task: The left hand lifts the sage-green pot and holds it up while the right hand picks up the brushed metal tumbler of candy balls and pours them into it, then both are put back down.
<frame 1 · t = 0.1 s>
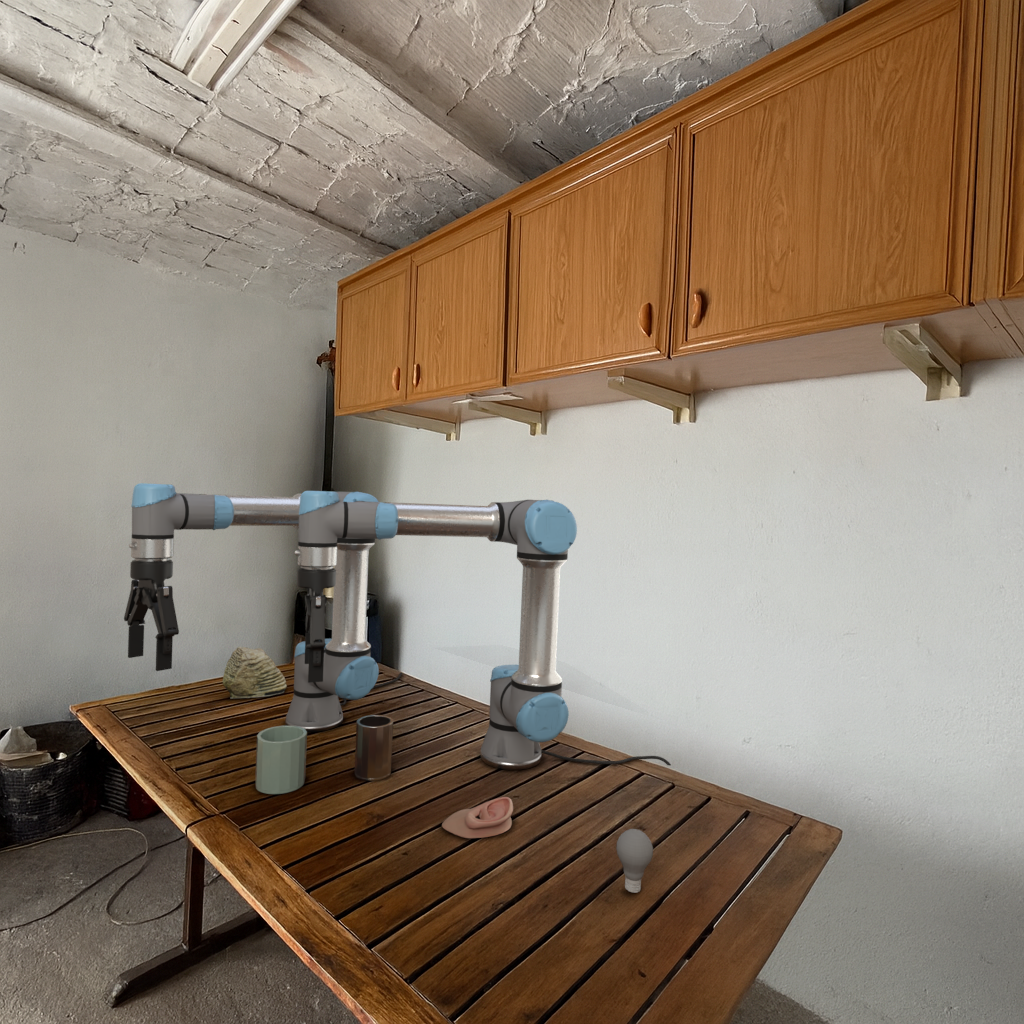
left hand: (149, 663, 129), 28 cm above the table, tool pointing down, fingers open, 13 cm apart
right hand: (313, 672, 128), 28 cm above the table, tool pointing down, fingers open, 13 cm apart
anatomical model: (477, 825, 125), on the table
light bulb: (632, 891, 106), on the table
pot: (280, 783, 139), on the table, 0 candy balls inside
fossil: (254, 694, 198), on the table
tumbler: (372, 773, 146), on the table, 144 candy balls inside
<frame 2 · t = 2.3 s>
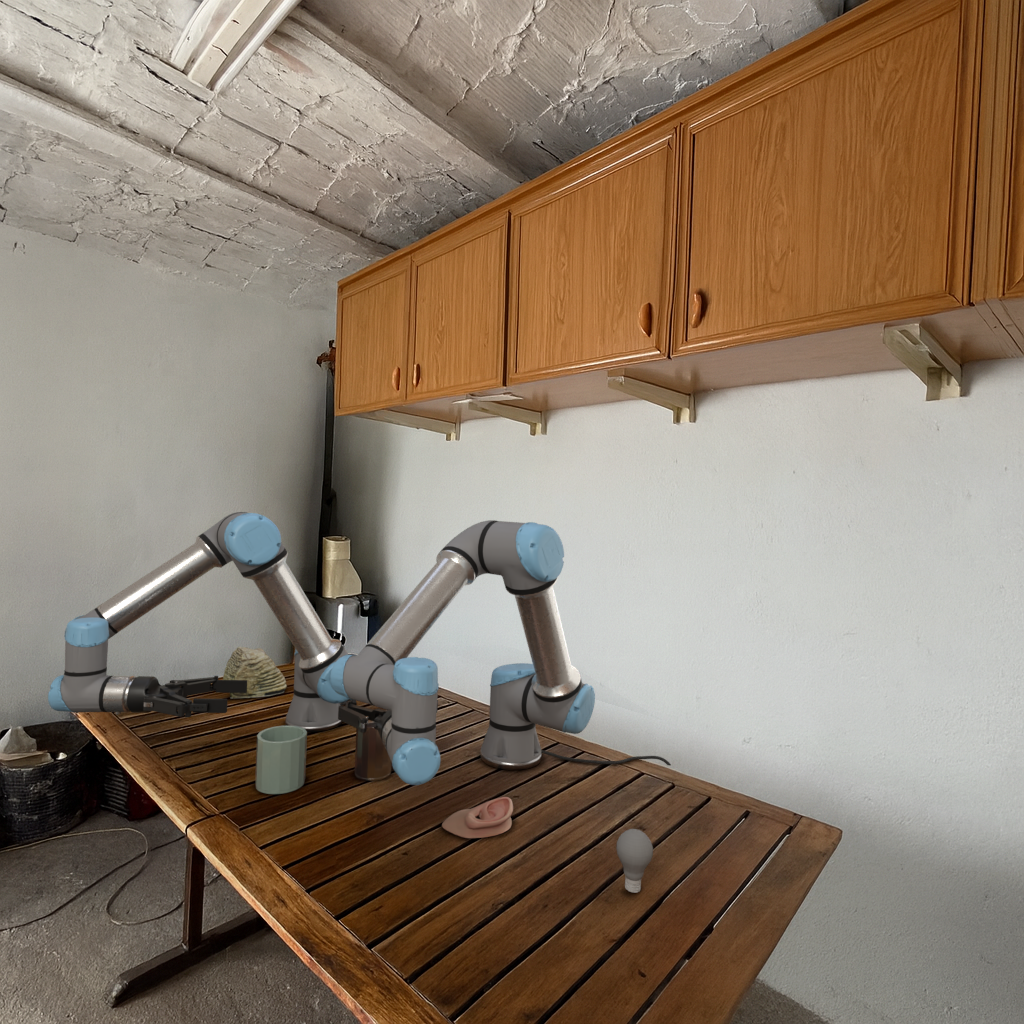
left hand: (237, 695, 138), 19 cm above the table, tool horizontal, fingers open, 13 cm apart
right hand: (383, 697, 137), 21 cm above the table, tool horizontal, fingers open, 13 cm apart
nothing on the table moved.
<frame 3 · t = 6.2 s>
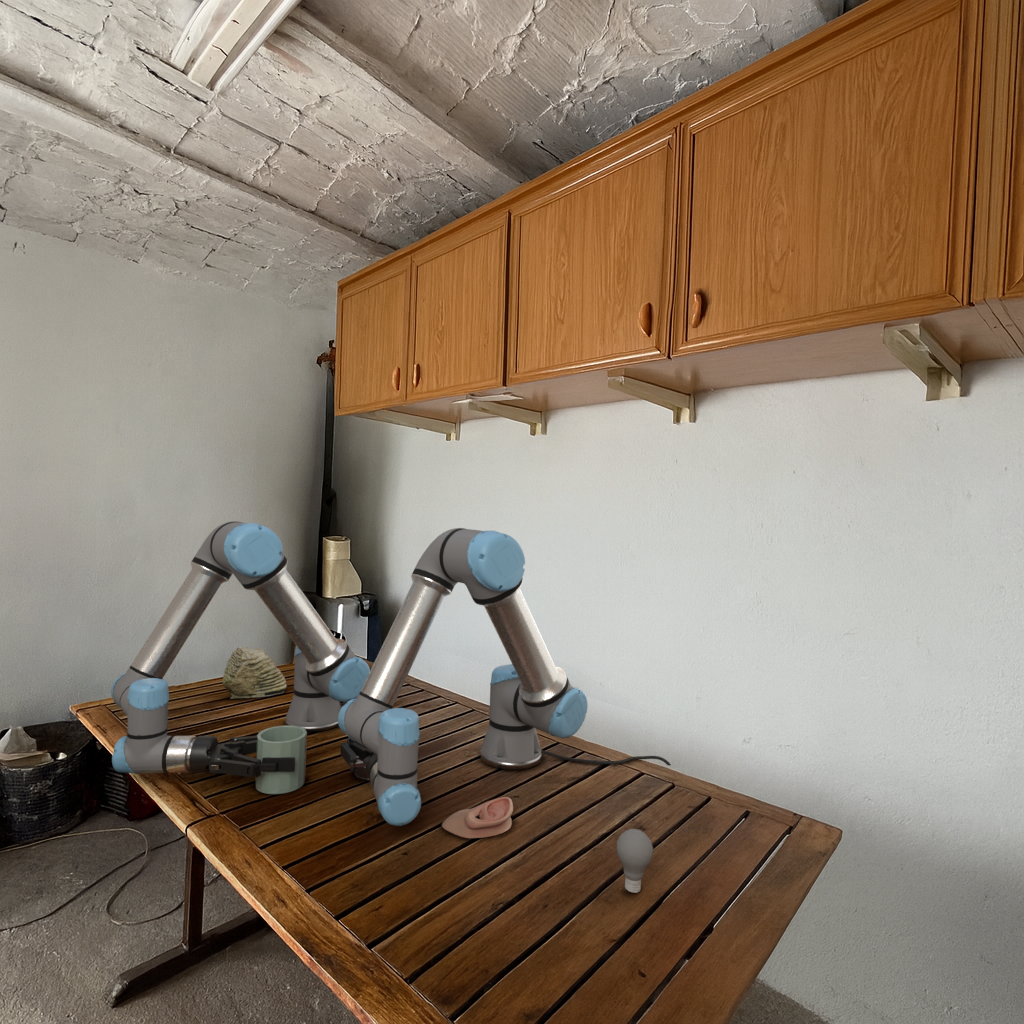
left hand: (300, 754, 139), 6 cm above the table, tool horizontal, fingers closed on pot, 10 cm apart
right hand: (371, 733, 150), 8 cm above the table, tool horizontal, fingers closed on tumbler, 8 cm apart
pot: (280, 783, 139), on the table, 0 candy balls inside, touching left hand
tumbler: (372, 773, 146), on the table, 144 candy balls inside, touching right hand
everything else where it was.
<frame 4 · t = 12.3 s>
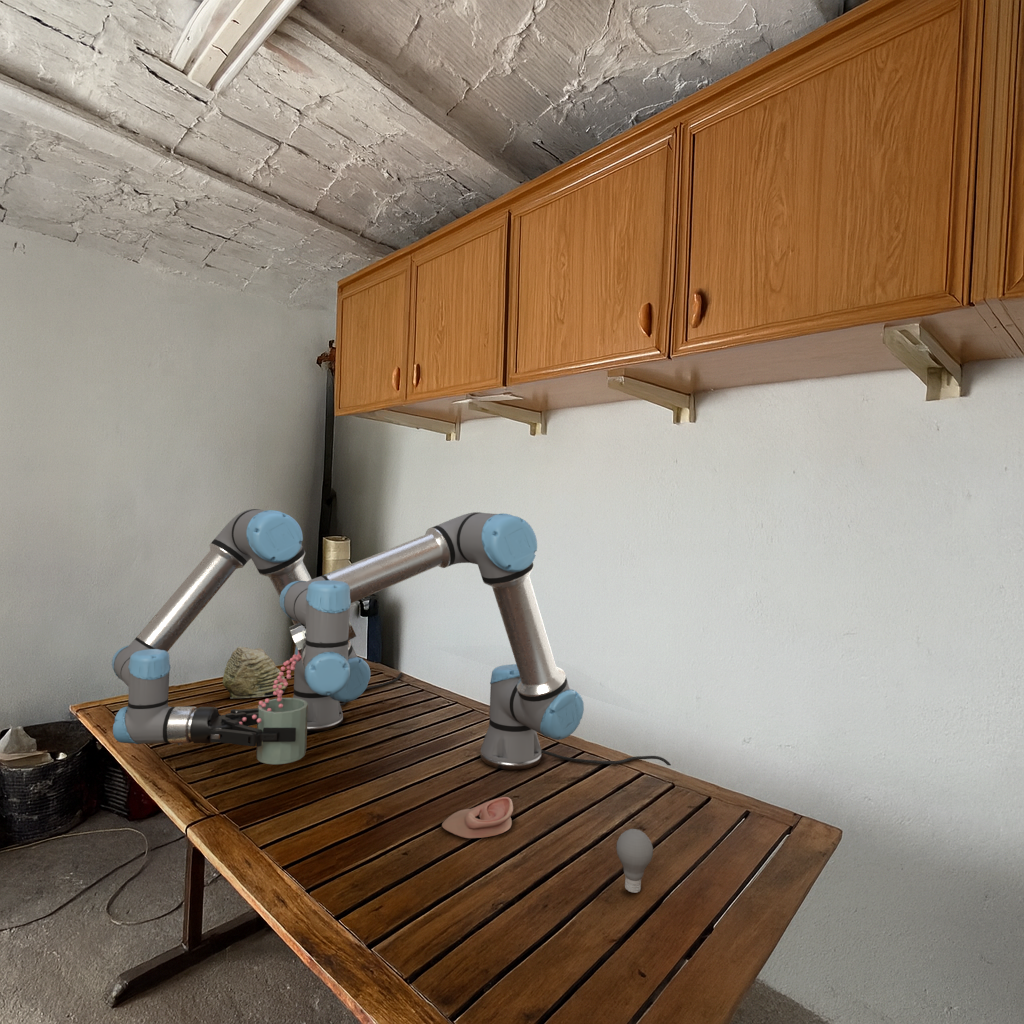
left hand: (301, 725, 139), 13 cm above the table, tool horizontal, fingers closed on pot, 10 cm apart
right hand: (314, 630, 145), 32 cm above the table, tool horizontal, fingers closed on tumbler, 8 cm apart
pot: (281, 754, 139), point 6 cm above the table, 73 candy balls inside, touching left hand
tumbler: (348, 619, 143), point 36 cm above the table, tilted 115°, 42 candy balls inside, touching right hand
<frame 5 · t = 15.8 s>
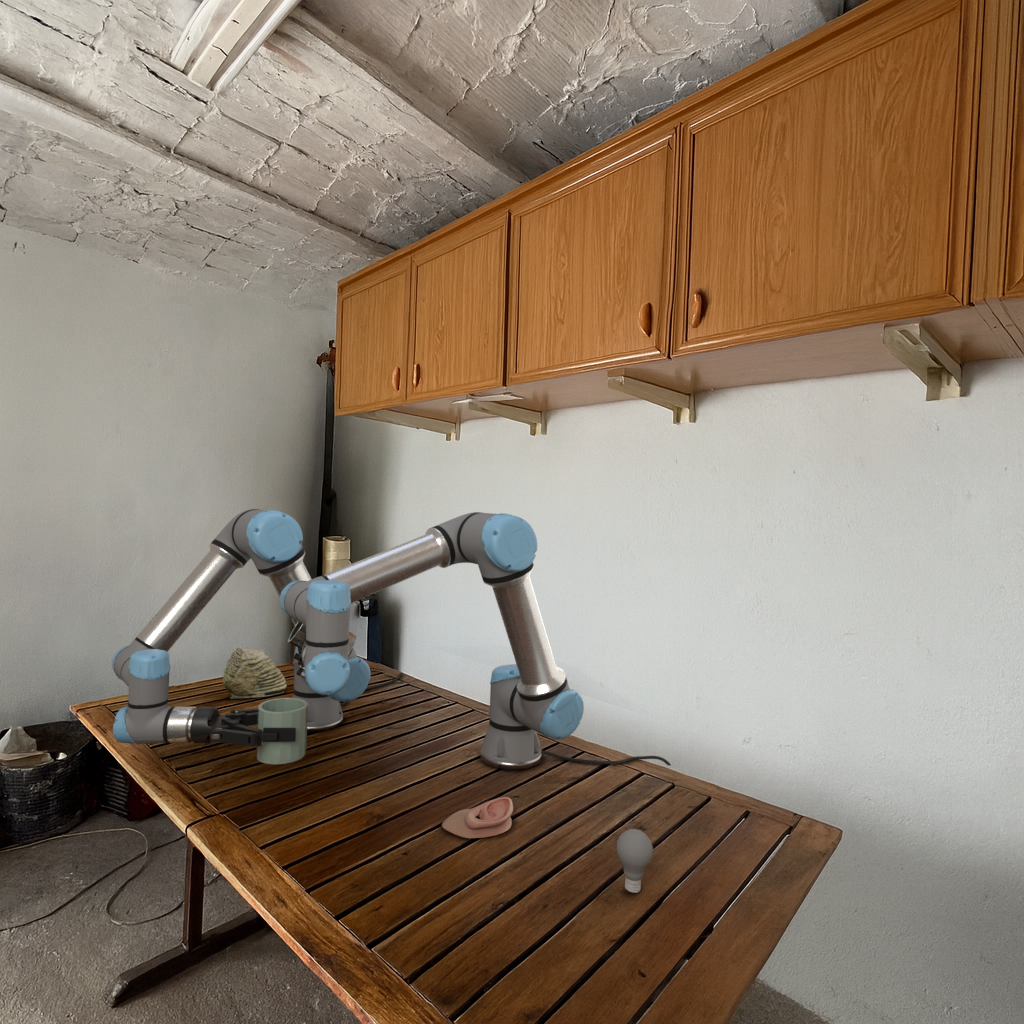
left hand: (301, 725, 139), 13 cm above the table, tool horizontal, fingers closed on pot, 10 cm apart
right hand: (314, 630, 145), 32 cm above the table, tool horizontal, fingers closed on tumbler, 8 cm apart
pot: (281, 754, 139), point 6 cm above the table, 137 candy balls inside, touching left hand
tumbler: (346, 651, 143), point 29 cm above the table, tilted 59°, 0 candy balls inside, touching right hand
when the left hand's fingers open (7 cm above the table, at t = 19.0 s): pot stays where it is, on the table.
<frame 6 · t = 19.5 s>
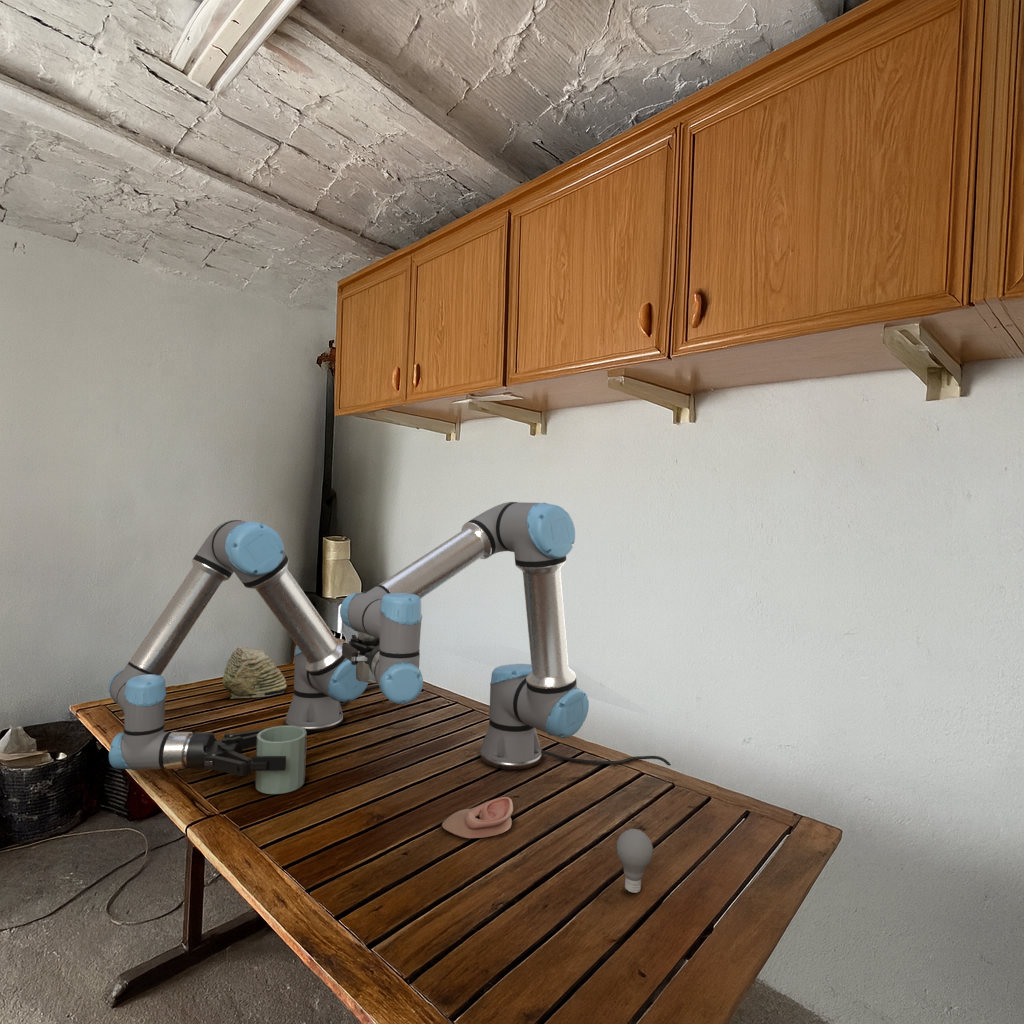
left hand: (293, 750, 139), 7 cm above the table, tool horizontal, fingers open, 13 cm apart
right hand: (372, 640, 149), 30 cm above the table, tool horizontal, fingers closed on tumbler, 8 cm apart
pot: (280, 783, 139), on the table, 137 candy balls inside
tumbler: (374, 677, 145), point 22 cm above the table, 0 candy balls inside, touching right hand
when the right hand's fingers open (8 cm above the table, at t = 23.4 s): tumbler stays where it is, on the table.
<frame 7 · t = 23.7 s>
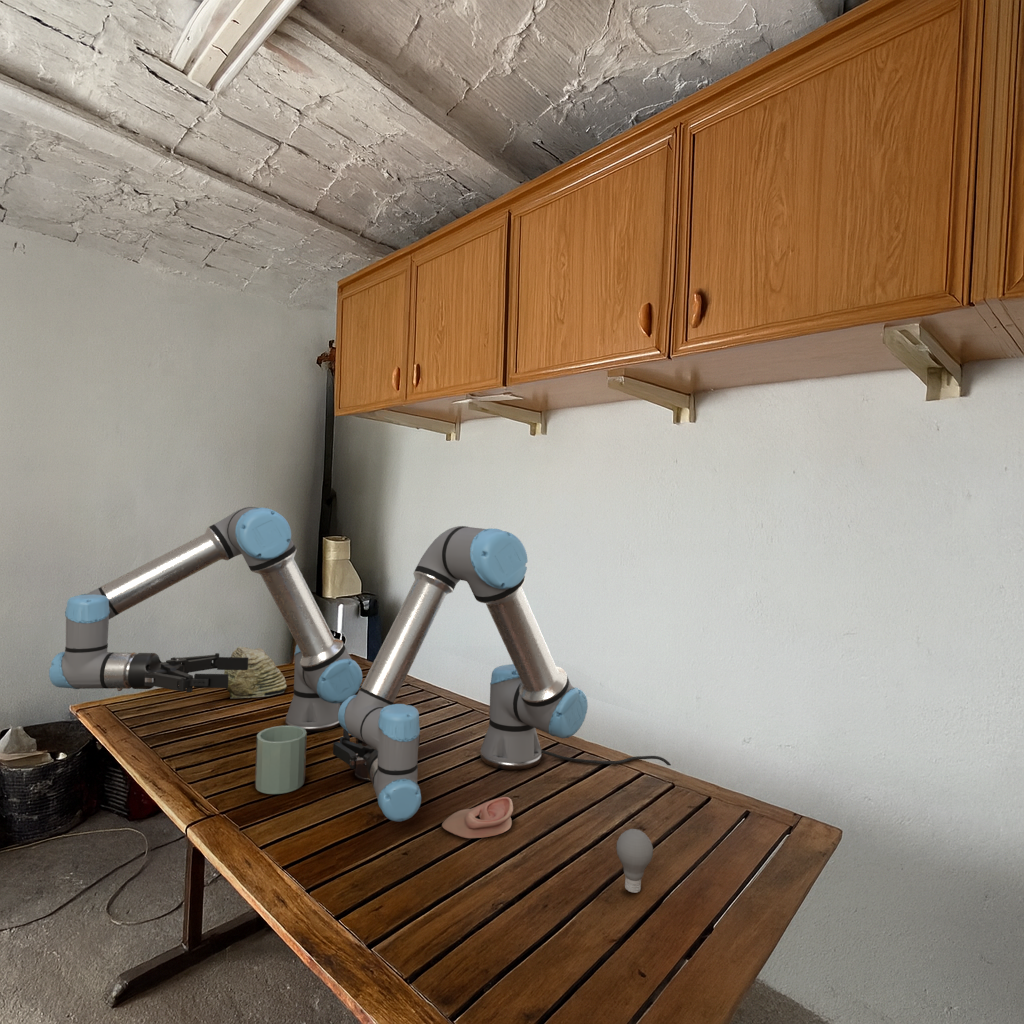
left hand: (238, 672, 138), 24 cm above the table, tool horizontal, fingers open, 13 cm apart
right hand: (372, 731, 149), 8 cm above the table, tool horizontal, fingers open, 12 cm apart
tumbler: (373, 773, 146), on the table, 0 candy balls inside
everything else where it was.
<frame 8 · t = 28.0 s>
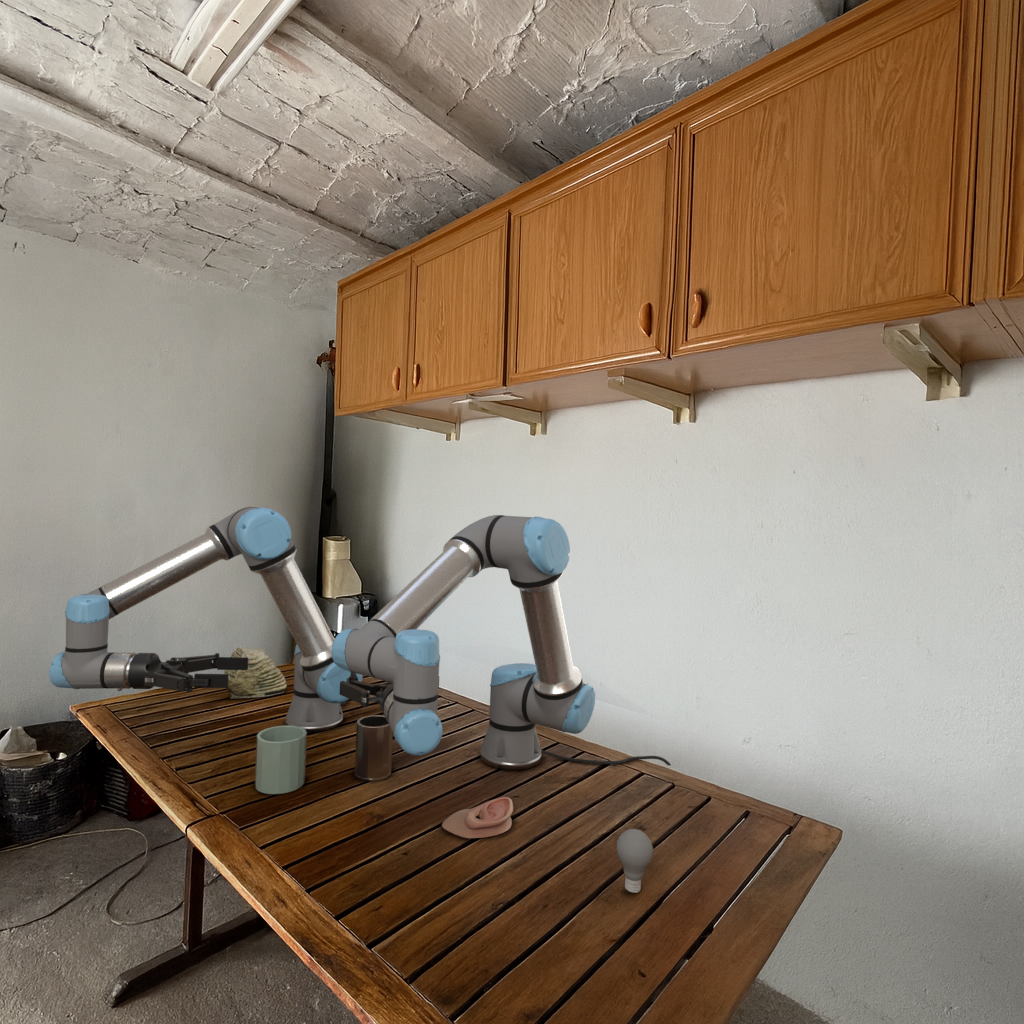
left hand: (238, 672, 138), 24 cm above the table, tool horizontal, fingers open, 13 cm apart
right hand: (384, 674, 137), 26 cm above the table, tool horizontal, fingers open, 13 cm apart
nothing on the table moved.
at the end: 137 of the 144 candy balls in the pot, 7 off the table; pot was lifted up to 6 cm off the table; pot tilted 0°; tumbler tilted 0°; the left hand is holding nothing; the right hand is holding nothing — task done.
